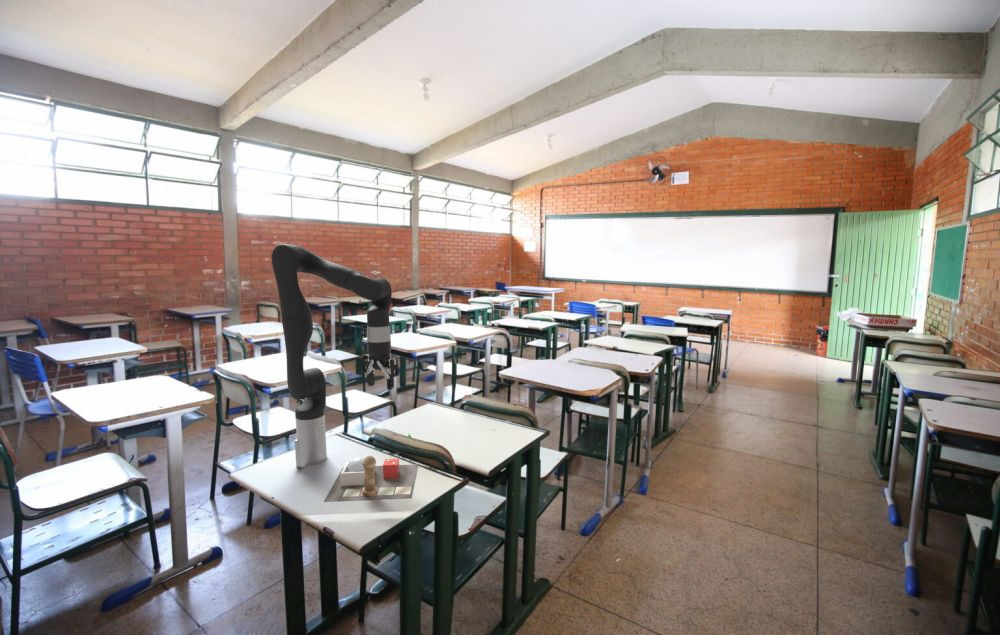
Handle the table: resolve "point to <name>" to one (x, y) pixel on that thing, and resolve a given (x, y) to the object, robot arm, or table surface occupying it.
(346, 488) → the board
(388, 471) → the die
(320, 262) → the robot arm
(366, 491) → the pawn
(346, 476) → the housing
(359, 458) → the white ball
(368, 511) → the table surface
